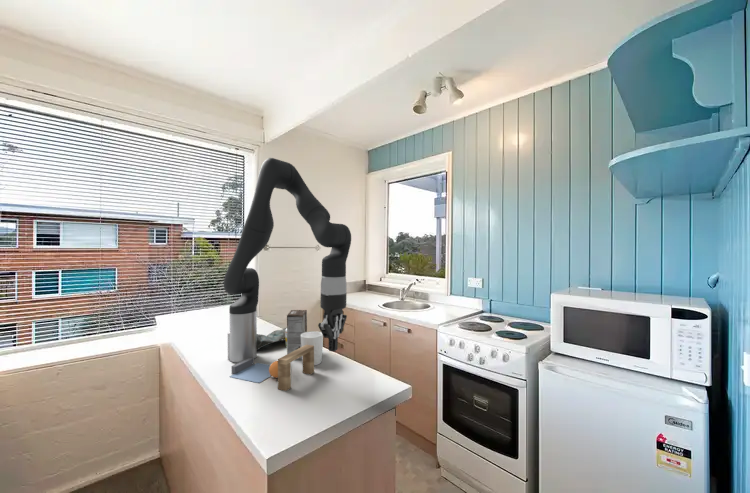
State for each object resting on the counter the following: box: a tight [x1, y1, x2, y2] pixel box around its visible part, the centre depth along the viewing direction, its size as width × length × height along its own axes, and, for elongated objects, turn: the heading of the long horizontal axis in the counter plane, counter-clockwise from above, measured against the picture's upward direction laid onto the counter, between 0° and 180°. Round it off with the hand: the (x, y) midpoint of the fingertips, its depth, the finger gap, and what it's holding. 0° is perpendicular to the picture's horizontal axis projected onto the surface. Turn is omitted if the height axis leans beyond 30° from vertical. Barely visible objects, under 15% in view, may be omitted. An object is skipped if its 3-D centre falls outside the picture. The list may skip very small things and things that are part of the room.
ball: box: [269, 360, 278, 379], centre depth 96 cm, size 5×5×5 cm
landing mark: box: [229, 362, 272, 384], centre depth 99 cm, size 12×12×1 cm
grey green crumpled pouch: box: [257, 326, 287, 351], centre depth 129 cm, size 13×7×25 cm
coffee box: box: [286, 309, 308, 359], centre depth 116 cm, size 9×6×16 cm
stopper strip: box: [231, 358, 255, 375], centre depth 102 cm, size 2×8×2 cm, turn 158°
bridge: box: [277, 345, 315, 392], centre depth 93 cm, size 3×14×9 cm, turn 158°
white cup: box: [301, 330, 324, 366], centre depth 108 cm, size 8×8×10 cm
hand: (333, 350), depth 89 cm, fingers closed
